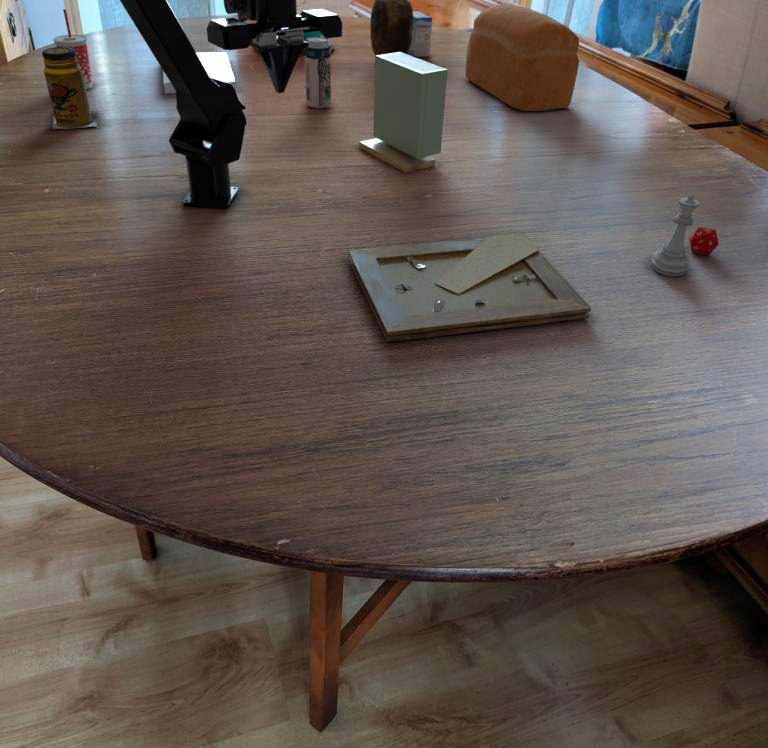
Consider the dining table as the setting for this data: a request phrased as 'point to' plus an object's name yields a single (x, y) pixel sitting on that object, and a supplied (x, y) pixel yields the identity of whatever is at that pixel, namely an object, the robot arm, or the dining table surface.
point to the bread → (523, 58)
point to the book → (209, 69)
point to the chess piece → (676, 242)
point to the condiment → (67, 89)
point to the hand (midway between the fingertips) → (279, 92)
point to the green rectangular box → (409, 103)
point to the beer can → (318, 72)
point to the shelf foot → (395, 156)
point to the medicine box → (420, 35)
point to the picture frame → (463, 287)
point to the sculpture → (391, 26)
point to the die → (703, 241)
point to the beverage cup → (77, 50)
